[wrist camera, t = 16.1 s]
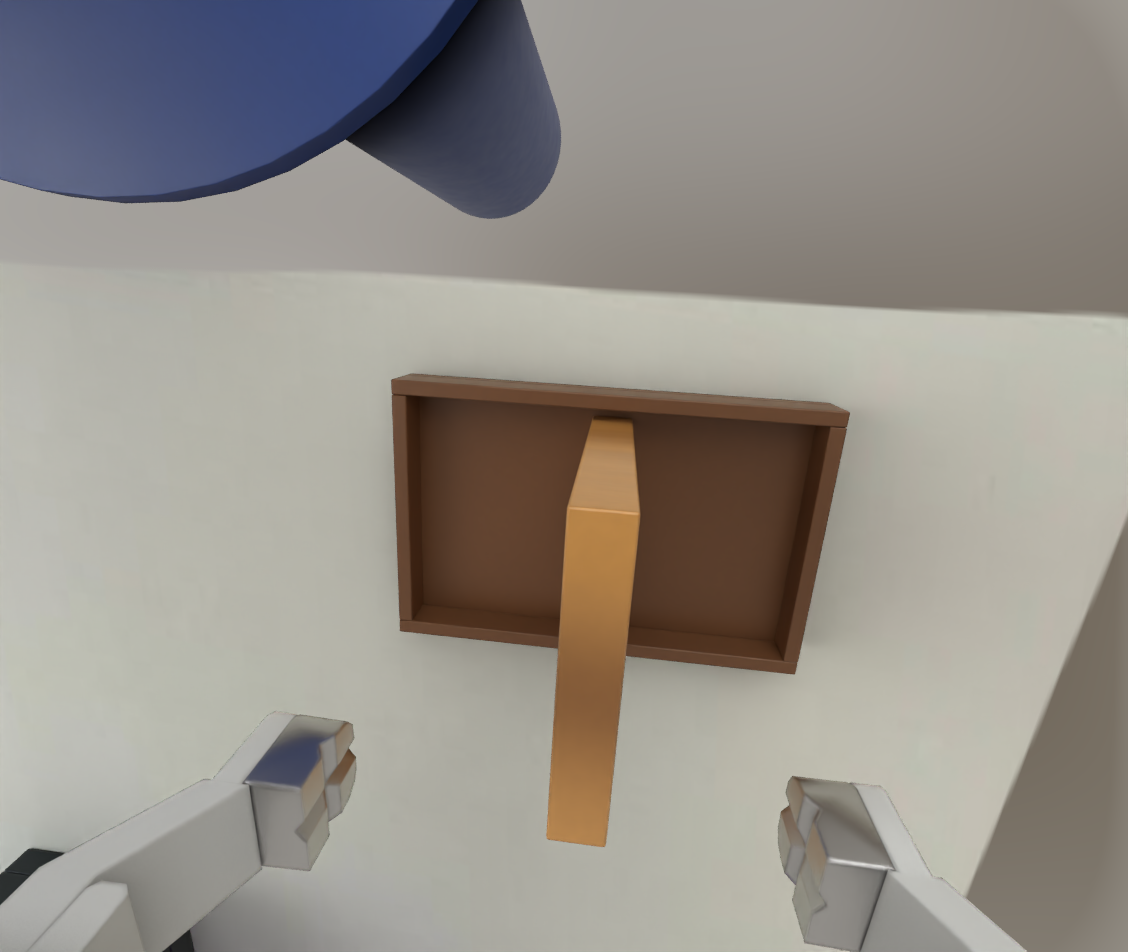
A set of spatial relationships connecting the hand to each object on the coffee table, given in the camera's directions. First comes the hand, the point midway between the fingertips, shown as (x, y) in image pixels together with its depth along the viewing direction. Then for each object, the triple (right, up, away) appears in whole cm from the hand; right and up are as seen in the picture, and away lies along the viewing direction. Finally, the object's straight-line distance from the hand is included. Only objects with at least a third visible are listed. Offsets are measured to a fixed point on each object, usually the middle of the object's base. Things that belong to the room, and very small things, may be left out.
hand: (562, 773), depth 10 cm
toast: (+2, +3, +13) cm, 14 cm away
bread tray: (+2, +4, +14) cm, 15 cm away
